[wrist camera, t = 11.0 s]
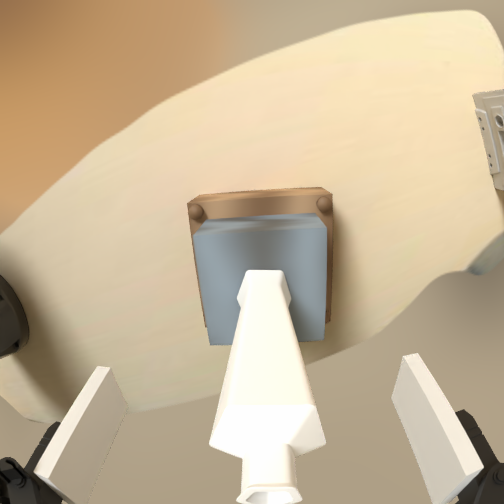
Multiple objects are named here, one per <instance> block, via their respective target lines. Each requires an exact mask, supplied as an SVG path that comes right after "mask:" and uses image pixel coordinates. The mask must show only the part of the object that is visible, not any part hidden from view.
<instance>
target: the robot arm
mask: <svg viewBox="0 0 504 504" xmlns="http://www.w3.org/2000/svg"><path fill="white" fill-rule="evenodd" d="M28 337H29V329H28V323H27V319H26V316H25V313H24V311H23V308H22V306H21V304H20V302H19V300H18V298H17V296H16V295H15V293H14V291H13V290H12V288H11V287H10V286H9V284H8V283H7V282H6V281H5V280H4V279H3V278H2V277H1V276H0V359H1V358H4V357H6V356H9V355H11V354H14V353H16V352H18V351H19V350H20V349H21V348H22V347H23V346H24V345H25V344H26V343H27V341H28ZM391 399H392V402H393V404H394V406H395V409H396V411H397V413H398V416H399V418H400V420H401V423H402V425H403V427H404V430H405V432H406V435H407V437H408V440H409V442H410V445H411V447H412V449H413V452H414V455H415V457H416V460H417V462H418V465H419V468H420V470H421V473H422V476H423V478H424V481H425V484H426V486H427V489H428V492H429V495H430V498H431V501H432V504H446V503H448V502H451V501H452V500H453V499H454V498H455V497H456V496H458V498H459V501H458V502H457V503H456V504H504V463H500V462H499V461H498V460H497V458H496V456H495V454H494V453H493V451H492V449H491V447H490V446H489V444H488V442H487V440H486V438H485V437H484V435H482V431H481V430H480V428H479V427H478V425H477V423H476V421H475V420H474V418H473V416H471V415H470V414H469V413H468V412H466V411H465V410H461V411H458V412H455V413H454V411H453V409H452V407H451V406H450V404H449V402H448V401H447V399H446V397H445V396H444V394H443V392H442V391H441V389H440V387H439V386H438V384H437V383H436V381H435V379H434V378H433V376H432V375H431V373H430V371H429V370H428V368H427V367H426V365H425V364H424V362H423V361H422V359H421V358H420V356H419V354H418V353H417V354H412V355H406V356H403V358H402V362H401V366H400V370H399V374H398V377H397V380H396V384H395V387H394V391H393V394H392V397H391ZM127 409H128V405H127V403H126V401H125V399H124V397H123V395H122V392H121V390H120V388H119V386H118V384H117V381H116V379H115V377H114V374H113V372H112V370H111V368H110V367H101V366H97V368H96V369H95V371H94V372H93V374H92V375H91V377H90V378H89V380H88V381H87V383H86V384H85V386H84V387H83V389H82V391H81V392H80V394H79V395H78V397H77V398H76V400H75V402H74V403H73V405H72V406H71V408H70V410H69V411H68V413H67V414H66V416H65V418H64V419H63V421H62V423H60V422H57V421H56V422H55V423H54V424H53V425H51V426H50V427H49V428H48V429H47V431H46V433H45V434H44V436H43V438H42V439H41V441H40V443H39V445H38V446H37V448H36V449H35V451H34V453H33V455H32V456H31V458H30V460H29V461H28V463H27V465H26V466H25V468H24V469H23V468H22V467H21V466H20V465H19V464H18V462H17V461H16V460H15V459H13V458H11V457H5V458H3V459H1V460H0V504H61V502H62V500H64V501H66V502H67V503H68V504H88V501H89V498H90V496H91V493H92V491H93V488H94V486H95V484H96V481H97V478H98V476H99V474H100V471H101V469H102V466H103V464H104V462H105V459H106V457H107V455H108V452H109V450H110V448H111V445H112V443H113V441H114V439H115V436H116V434H117V432H118V429H119V427H120V425H121V423H122V421H123V418H124V416H125V414H126V412H127Z"/></svg>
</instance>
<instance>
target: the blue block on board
mask: <svg viewBox="0 0 504 504" xmlns="http://www.w3.org/2000/svg"><path fill="white" fill-rule="evenodd" d="M187 206H188V215H189V223H190V230H191V238H192V245H193V253H194V259H195V266H196V273H197V279H198V286H199V292H200V298H201V304H202V310H203V316H204V322H205V327H207V331H208V336H209V342H210V345H232V344H233V340H234V335H235V331H236V327H237V323H238V318H239V314H240V310H241V307H240V305H239V303H238V300H237V296H238V293H239V290H240V287H241V284H242V282H243V279H244V276H245V273H246V271H248V270H281V271H283V273H284V275H285V279H286V282H287V285H288V289H289V292H290V295H291V301H290V304H289V307H288V309H289V313H290V316H291V319H292V323H293V326H294V330H295V333H296V337H297V340H298V342H306V341H319V340H324V331H325V324H326V323H328V322H329V321H330V315H331V295H332V261H333V203H332V194H331V193H330V192H328V191H327V190H325V189H323V188H322V187H313V188H290V189H271V190H255V191H241V192H228V193H216V194H205V195H199V196H197V197H196V198H194V199H193V200H192V201H190V202H189V203H187Z"/></svg>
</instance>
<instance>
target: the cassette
mask: <svg viewBox="0 0 504 504" xmlns="http://www.w3.org/2000/svg"><path fill="white" fill-rule="evenodd" d="M472 96H473V99H474V102H475V105H476V109H475V112H476V115H477V118H478V122H479V126H480V129H481V133H482V137H483V141H484V145H485V150H486V154H487V159H488V164H489V169H490V174H491V175H492V176H493V181H494V187H495V188H496V189H499V190H503V191H504V89H502V90H495V91H489V92H480V93H474V94H473V95H472Z"/></svg>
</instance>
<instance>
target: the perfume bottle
mask: <svg viewBox="0 0 504 504" xmlns="http://www.w3.org/2000/svg"><path fill="white" fill-rule="evenodd" d="M237 300H238V303H239V305H240V307H241V310H240V314H239V318H238V323H237V327H236V331H235V335H234V340H233V344H232V348H231V353H230V357H229V361H228V365H227V370H226V374H225V378H224V383H223V387H222V391H221V395H220V400H219V404H218V408H217V412H216V417H215V421H214V425H213V429H212V434H211V438H210V442H209V444H210V446H212V447H214V448H216V449H218V450H221V451H223V452H226V453H228V454H231V455H234V456H236V457H239V458H242V459H243V465H242V484H241V494H240V495H239V496H238V498H237V499H236V500H237V502H239V503H242V504H293V503H297V502H300V501H301V500H302V496H301V494H300V493H299V491H298V490H297V477H296V466H295V458H296V457H299V456H301V455H304V454H306V453H308V452H310V451H313V450H315V449H317V448H320V447H322V446H324V445H325V444H326V440H325V437H324V433H323V429H322V426H321V422H320V418H319V415H318V411H317V408H316V404H315V400H314V396H313V393H312V389H311V386H310V382H309V379H308V375H307V372H306V368H305V364H304V361H303V357H302V354H301V350H300V347H299V344H298V340H297V337H296V333H295V330H294V326H293V323H292V319H291V316H290V313H289V309H288V307H289V304H290V301H291V295H290V292H289V289H288V285H287V282H286V279H285V275H284V273H283V271H281V270H248V271H246V273H245V276H244V279H243V282H242V284H241V287H240V290H239V293H238V296H237Z"/></svg>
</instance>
